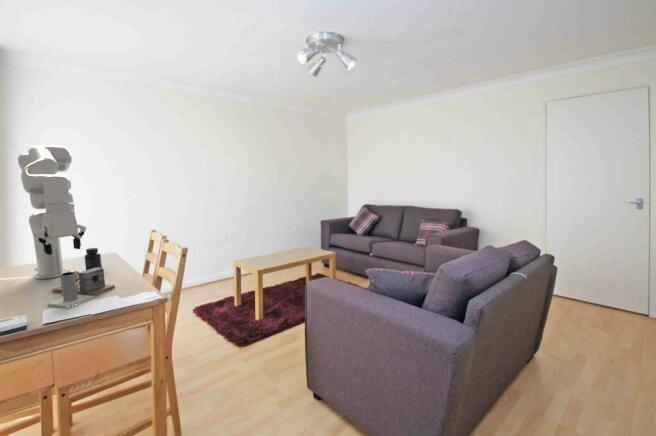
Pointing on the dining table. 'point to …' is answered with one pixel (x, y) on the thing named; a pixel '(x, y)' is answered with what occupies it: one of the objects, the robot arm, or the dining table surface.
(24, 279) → the dining table surface
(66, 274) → the grey open cylinder
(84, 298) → the tile
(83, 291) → the shaft stand
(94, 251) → the supplement bottle
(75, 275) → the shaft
